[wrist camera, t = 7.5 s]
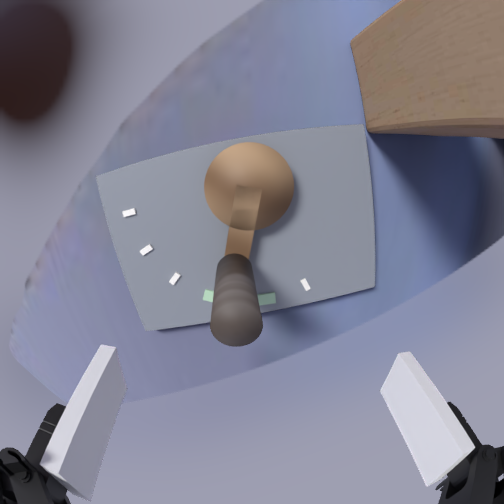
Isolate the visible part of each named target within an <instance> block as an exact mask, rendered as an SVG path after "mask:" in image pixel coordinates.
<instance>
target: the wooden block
mask: <svg viewBox="0 0 504 504" xmlns="http://www.w3.org/2000/svg"><path fill="white" fill-rule="evenodd" d="M350 45H351V48H352V53H353V57H354V61H355V65H356V70H357V75H358V80H359V85H360V90H361V96H362V101H363V107H364V114H365V120H366V128H367V131H368V132H370V133H385V134H416V135H432V136H466V137H487V138H500V139H504V0H401V1H400V2H398V3H397V4H396V5H394V6H393V7H392V8H390V9H389V10H388V11H386V12H385V13H384V14H383V15H381V16H380V17H379V18H377V19H376V20H375V21H374V22H372V23H371V24H370V25H369V26H368V27H366V28H365V29H364V30H363V31H361V32H360V33H359V34H358V35H357V36H356V37H354V38H353V39H352V40H351V43H350Z"/></svg>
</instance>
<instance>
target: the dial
mask: <svg viewBox="0 0 504 504" xmlns="http://www.w3.org/2000/svg"><path fill="white" fill-rule="evenodd" d="M204 193H205V198H206V201H207V204H208V206H209V208H210V209H211V211H212V213H213V214H214V215H215V216H216V217H217V218H218V219H219V220H220V221H221V222H223V223H224V224H226V225H228V226H229V230H228V237H227V243H226V249H225V255H224V257H223V258H222V259H221V260H220V261H219V263H218V265H217V270H216V278H215V286H214V294H213V303H212V312H211V321H210V329H211V332H212V334H213V336H214V337H215V338H216V339H217V340H218V341H220V342H221V343H223V344H225V345H228V346H244V345H247V344H250V343H252V342H253V341H255V340H256V339H257V338H258V337H259V335H260V334H261V331H262V328H263V322H262V317H261V311H260V306H259V301H258V295H257V290H256V285H255V279H254V274H253V269H252V265H251V262H250V261H249V255H250V250H251V245H252V240H253V235H254V230H259V229H263V228H265V227H268V226H270V225H272V224H273V223H275V222H276V221H277V220H279V219H280V218H281V217H282V216H283V215H284V213H285V212H286V211H287V209H288V207H289V206H290V203H291V201H292V198H293V193H294V179H293V175H292V171H291V169H290V167H289V165H288V163H287V162H286V160H285V159H284V158H283V157H282V156H281V155H280V154H279V153H278V152H277V151H276V150H274V149H272V148H271V147H269V146H266V145H264V144H260V143H254V142H244V143H239V144H235V145H232V146H230V147H228V148H226V149H225V150H223V151H222V152H221V153H219V154H218V155H217V156H216V157H215V158H214V160H213V161H212V162H211V164H210V166H209V168H208V170H207V173H206V176H205V181H204Z"/></svg>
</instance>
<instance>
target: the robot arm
mask: <svg viewBox="0 0 504 504" xmlns="http://www.w3.org/2000/svg"><path fill="white" fill-rule="evenodd" d="M126 391H127V385H126V382H125V379H124V375H123V372H122V368H121V365H120V361H119V357H118V353H117V349H116V347H111V346H106V345H101V346H100V347H99V349H98V351H97V352H96V354H95V356H94V358H93V359H92V361H91V363H90V364H89V366H88V368H87V370H86V371H85V373H84V375H83V377H82V379H81V380H80V382H79V384H78V386H77V388H76V389H75V391H74V393H73V395H72V397H71V399H70V401H69V403H68V405H67V407H66V406H63V405H60V404H56V405H54V406H53V407H52V408H51V409H50V410H49V411H48V412H47V414H46V416H45V418H44V420H43V422H42V423H41V425H40V429H39V430H38V431H37V433H36V435H35V438H34V439H33V441H32V443H31V445H30V448H29V450H28V452H27V454H26V456H25V457H24V456H23V455H22V454H21V453H20V452H19V451H18V450H16V449H14V448H5V449H2V450H1V451H0V504H71V503H70V501H69V499H68V497H67V496H66V492H67V490H68V491H70V492H71V493H72V494H74V495H76V496H78V497H81V498H83V499H86V500H88V501H91V498H92V494H93V491H94V487H95V484H96V480H97V477H98V473H99V470H100V467H101V463H102V460H103V457H104V454H105V451H106V448H107V445H108V442H109V439H110V436H111V433H112V430H113V427H114V424H115V421H116V418H117V415H118V413H119V410H120V407H121V405H122V402H123V399H124V396H125V394H126ZM380 392H381V394H382V396H383V398H384V400H385V402H386V404H387V406H388V408H389V410H390V412H391V414H392V415H393V418H394V419H395V421H396V424H397V426H398V427H399V429H400V431H401V433H402V436H403V438H404V439H405V442H406V444H407V446H408V447H409V450H410V452H411V454H412V456H413V458H414V460H415V463H416V465H417V467H418V469H419V471H420V473H421V476H422V478H423V480H424V482H425V484H426V486H429V485H431V484H433V483H435V482H437V481H439V480H440V479H441V478H443V477H444V476H445V475H446V474H447V476H448V477H447V478H446V479H445V480H444V481H443V482H441V483H440V484H439V485H438V486H437V488H436V490H438V489H439V488H440V487H442V486H443V485H444V486H443V487H442V488H441V489H440V491H442V494H441V497H440V500H439V503H438V504H504V478H503V479H502V480H501V481H498V477H499V476H501V475H502V474H503V473H504V446H502V447H499V448H494V447H493V446H491V445H482V444H481V443H480V441H479V440H478V439H477V437H476V435H475V433H474V432H473V430H472V429H471V427H470V426H469V424H468V423H466V420H465V418H464V417H462V414H461V412H460V411H459V409H458V408H457V407H456V406H454V405H453V404H452V403H451V402H448V403H446V401H445V400H444V398H443V397H442V395H441V394H440V393H439V391H438V390H437V389H436V387H435V385H434V384H433V382H432V381H431V380H430V378H429V377H428V375H427V374H426V373H425V372H424V370H423V369H422V367H421V366H420V365H419V363H418V362H417V360H416V359H415V358H414V356H413V355H412V354H411V352H404V353H398V355H397V358H396V360H395V362H394V364H393V366H392V368H391V370H390V372H389V374H388V376H387V378H386V380H385V382H384V384H383V386H382V388H381V390H380Z"/></svg>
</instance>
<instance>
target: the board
mask: <svg viewBox="0 0 504 504" xmlns="http://www.w3.org/2000/svg"><path fill="white" fill-rule="evenodd" d="M244 142H254V143H260V144H264V145H266V146H269V147H271V148H272V149H274V150H276V151H277V152H278V153H279V154H280V155H281V156H282V157H283V158H284V159H285V160H286V162H287V163H288V165H289V167H290V169H291V171H292V175H293V179H294V193H293V198H292V201H291V203H290V206H289V207H288V209H287V211H286V212H285V213H284V215H283V216H282V217H281V218H280V219H279V220H277V221H276V222H275V223H273V224H272V225H270V226H268V227H265V228H263V229H259V230H254V235H253V240H252V245H251V250H250V255H249V261H250V262H251V265H252V269H253V274H254V279H255V285H256V290H257V295H258V301H259V306H260V311H261V313H264V312H269V311H274V310H279V309H284V308H288V307H293V306H298V305H302V304H307V303H311V302H316V301H320V300H324V299H329V298H333V297H337V296H341V295H345V294H349V293H353V292H357V291H361V290H365V289H368V288H372V287H375V230H374V210H373V196H372V185H371V175H370V166H369V158H368V150H367V143H366V136H365V130H364V124H360V125H341V126H327V127H316V128H306V129H297V130H288V131H281V132H273V133H267V134H260V135H254V136H248V137H242V138H237V139H231V140H226V141H221V142H216V143H211V144H207V145H202V146H198V147H194V148H189V149H185V150H181V151H177V152H173V153H169V154H166V155H162V156H158V157H155V158H151V159H148V160H144V161H141V162H138V163H134V164H131V165H128V166H125V167H122V168H119V169H116V170H113V171H110V172H107V173H104V174H101V175H98V176H96V180H97V185H98V189H99V193H100V197H101V201H102V205H103V209H104V213H105V217H106V220H107V224H108V228H109V231H110V234H111V238H112V241H113V244H114V247H115V251H116V254H117V257H118V260H119V263H120V266H121V269H122V272H123V274H124V277H125V280H126V283H127V285H128V288H129V291H130V293H131V296H132V299H133V301H134V304H135V306H136V309H137V311H138V314H139V316H140V318H141V321H142V323H143V326H144V328H145V330H146V331H151V330H159V329H167V328H174V327H181V326H188V325H195V324H201V323H208V322H210V321H211V312H212V303H213V294H214V286H215V278H216V270H217V265H218V263H219V261H220V260H221V259H222V258H223V257H224V255H225V249H226V243H227V237H228V230H229V226H228V225H226V224H224V223H223V222H221V221H220V220H219V219H218V218H217V217H216V216H215V215H214V214H213V213H212V211H211V209H210V208H209V206H208V204H207V201H206V198H205V193H204V181H205V176H206V173H207V170H208V168H209V166H210V164H211V162H212V161H213V160H214V158H215V157H216V156H217V155H218V154H219V153H221V152H222V151H223V150H225V149H226V148H228V147H230V146H232V145H235V144H239V143H244Z"/></svg>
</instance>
